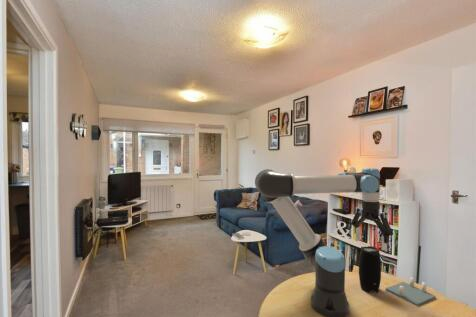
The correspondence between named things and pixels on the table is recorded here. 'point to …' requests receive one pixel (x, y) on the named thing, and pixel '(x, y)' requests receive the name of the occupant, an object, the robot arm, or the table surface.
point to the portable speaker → (369, 269)
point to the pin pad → (411, 292)
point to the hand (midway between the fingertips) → (370, 244)
